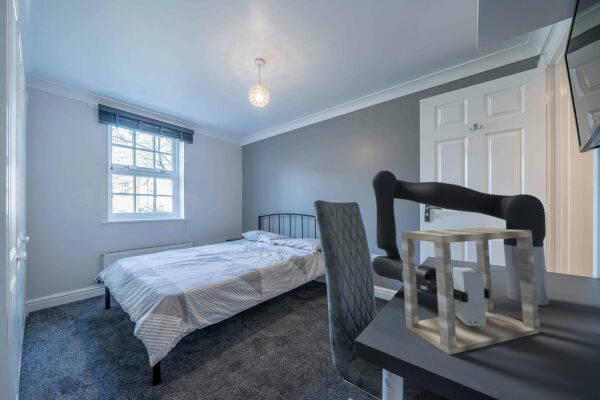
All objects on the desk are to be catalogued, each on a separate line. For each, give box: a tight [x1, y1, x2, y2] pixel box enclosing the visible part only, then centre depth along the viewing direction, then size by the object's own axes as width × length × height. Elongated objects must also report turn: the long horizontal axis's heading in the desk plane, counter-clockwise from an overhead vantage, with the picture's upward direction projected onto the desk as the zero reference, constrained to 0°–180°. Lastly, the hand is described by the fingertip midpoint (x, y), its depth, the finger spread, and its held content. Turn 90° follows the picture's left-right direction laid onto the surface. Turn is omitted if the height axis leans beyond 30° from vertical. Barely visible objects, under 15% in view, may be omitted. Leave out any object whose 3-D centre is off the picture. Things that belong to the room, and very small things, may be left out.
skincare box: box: [452, 266, 486, 327], centre depth 56 cm, size 6×4×12 cm
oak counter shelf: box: [400, 227, 541, 356], centre depth 57 cm, size 27×12×24 cm, turn 106°
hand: (478, 296), depth 54 cm, fingers closed on skincare box, 6 cm apart
